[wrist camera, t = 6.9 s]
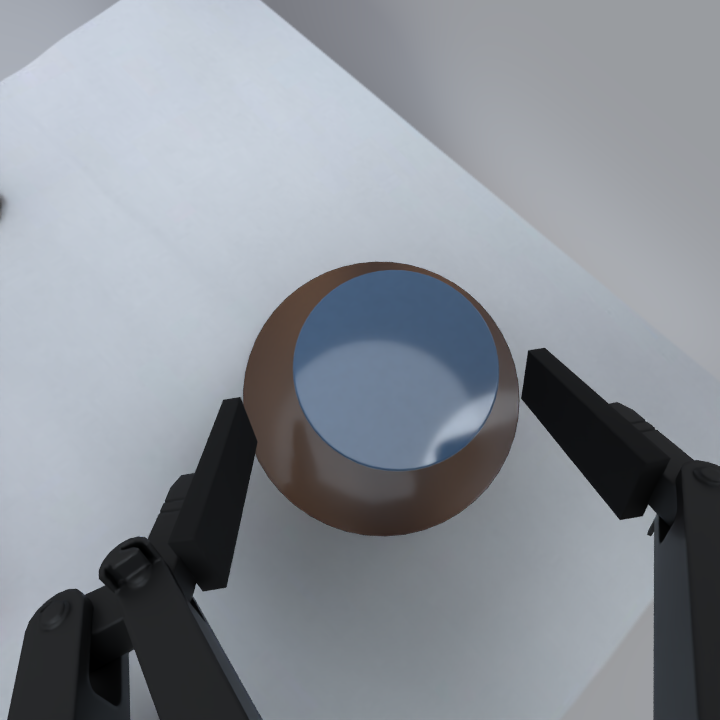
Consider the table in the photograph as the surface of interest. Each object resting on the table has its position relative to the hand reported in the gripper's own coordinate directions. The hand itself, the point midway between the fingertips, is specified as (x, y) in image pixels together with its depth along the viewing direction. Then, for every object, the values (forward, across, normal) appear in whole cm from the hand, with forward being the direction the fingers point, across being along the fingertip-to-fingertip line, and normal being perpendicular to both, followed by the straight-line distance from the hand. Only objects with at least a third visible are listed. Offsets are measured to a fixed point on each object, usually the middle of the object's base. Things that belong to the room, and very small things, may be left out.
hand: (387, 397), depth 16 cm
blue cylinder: (+5, 0, -4) cm, 6 cm away
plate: (+7, 0, -4) cm, 8 cm away
